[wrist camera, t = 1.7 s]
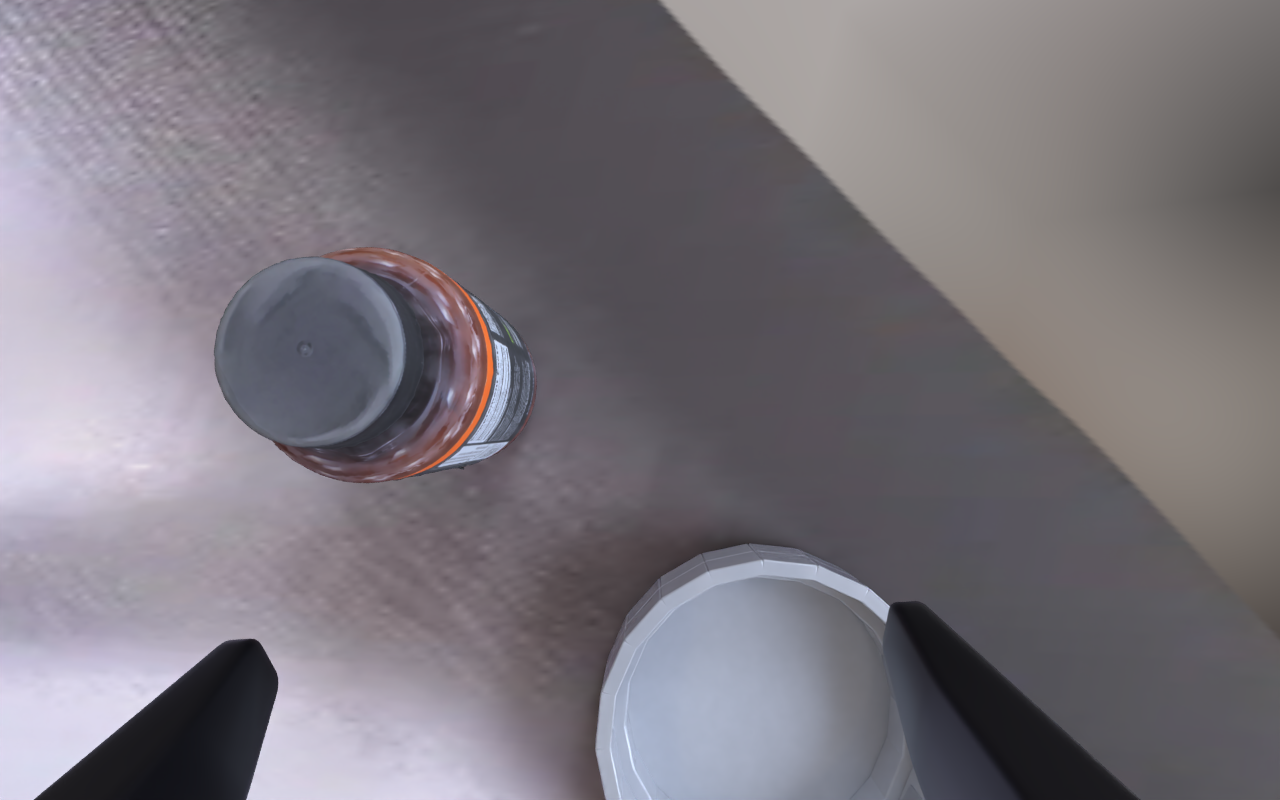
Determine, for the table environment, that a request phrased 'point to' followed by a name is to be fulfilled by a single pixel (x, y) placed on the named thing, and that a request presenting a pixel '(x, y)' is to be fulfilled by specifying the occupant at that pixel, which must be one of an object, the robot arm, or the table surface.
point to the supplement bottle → (372, 366)
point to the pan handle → (911, 794)
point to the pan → (752, 686)
